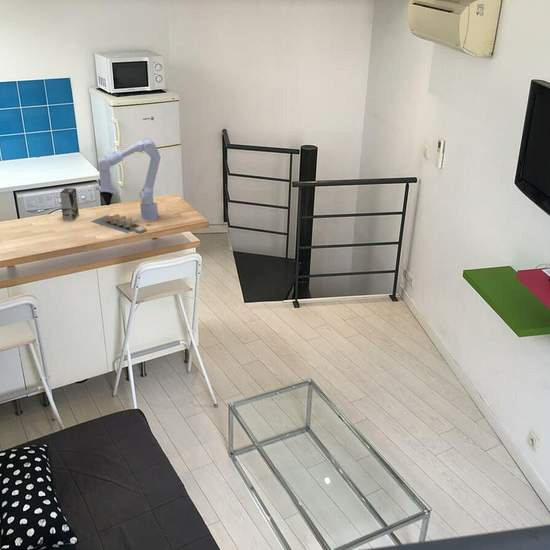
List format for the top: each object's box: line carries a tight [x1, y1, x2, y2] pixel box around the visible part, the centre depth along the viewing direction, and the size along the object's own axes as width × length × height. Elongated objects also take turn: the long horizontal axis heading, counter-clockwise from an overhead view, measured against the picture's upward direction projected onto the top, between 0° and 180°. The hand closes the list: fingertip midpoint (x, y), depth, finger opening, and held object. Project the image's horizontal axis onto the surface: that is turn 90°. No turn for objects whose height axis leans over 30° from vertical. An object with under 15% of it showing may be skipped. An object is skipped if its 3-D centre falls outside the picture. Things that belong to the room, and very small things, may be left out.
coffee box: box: [59, 187, 80, 222], centre depth 342 cm, size 9×6×16 cm
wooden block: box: [123, 218, 140, 228], centre depth 332 cm, size 2×4×8 cm
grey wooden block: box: [116, 217, 133, 226], centre depth 335 cm, size 2×4×8 cm
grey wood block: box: [110, 215, 127, 224], centre depth 337 cm, size 2×4×8 cm
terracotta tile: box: [104, 213, 121, 222], centre depth 339 cm, size 2×4×8 cm
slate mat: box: [90, 215, 144, 234], centre depth 339 cm, size 28×12×1 cm, turn 57°
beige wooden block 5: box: [129, 223, 147, 234], centre depth 331 cm, size 2×4×8 cm
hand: (108, 204), depth 339 cm, fingers closed
